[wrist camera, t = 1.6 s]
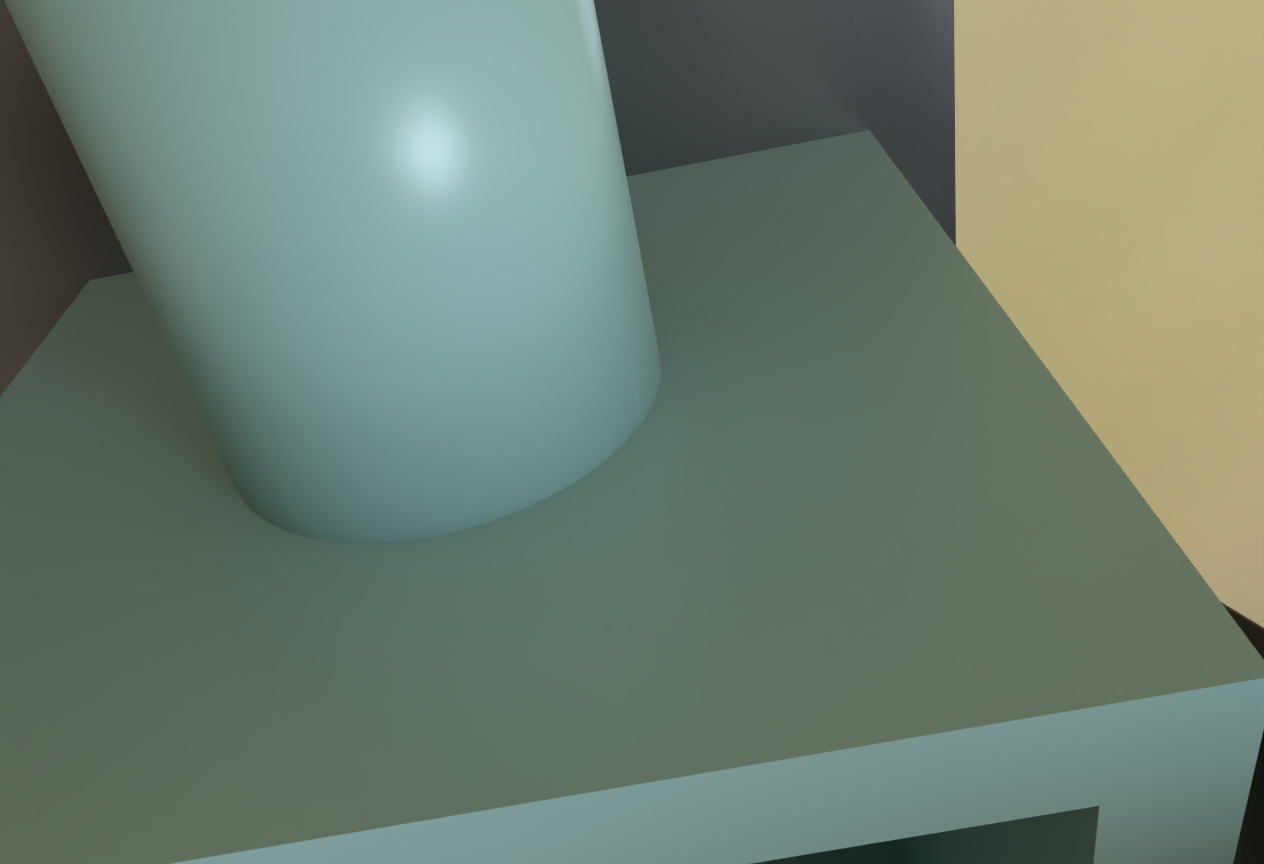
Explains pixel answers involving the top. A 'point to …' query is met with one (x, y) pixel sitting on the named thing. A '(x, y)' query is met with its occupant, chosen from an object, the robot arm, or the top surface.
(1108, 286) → the top surface
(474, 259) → the duct collar
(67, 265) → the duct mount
